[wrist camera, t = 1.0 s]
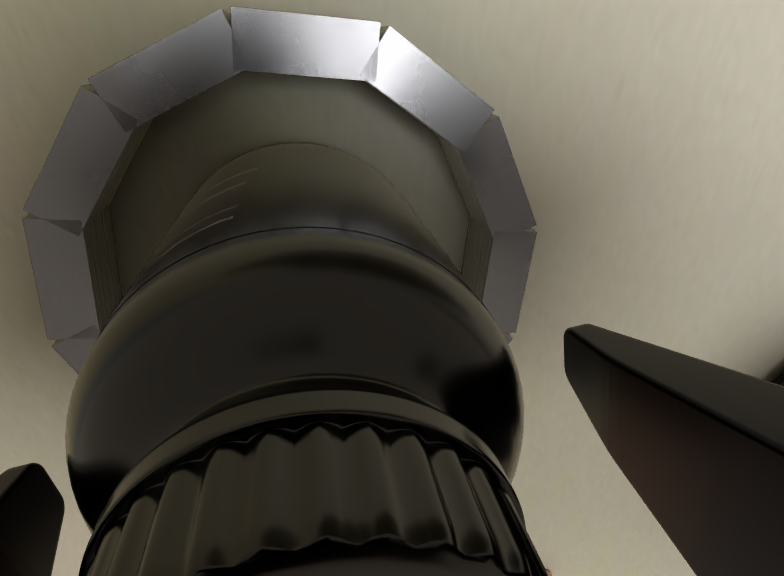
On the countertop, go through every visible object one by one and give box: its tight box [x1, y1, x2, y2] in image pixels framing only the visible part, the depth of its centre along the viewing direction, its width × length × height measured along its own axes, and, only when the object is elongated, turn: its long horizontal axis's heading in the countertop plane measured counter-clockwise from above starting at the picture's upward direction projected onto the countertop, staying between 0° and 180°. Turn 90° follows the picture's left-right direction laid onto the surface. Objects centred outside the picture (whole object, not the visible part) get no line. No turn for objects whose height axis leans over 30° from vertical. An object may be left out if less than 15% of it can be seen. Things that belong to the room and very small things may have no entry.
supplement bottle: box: [65, 143, 548, 576], centre depth 10 cm, size 7×7×12 cm
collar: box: [22, 6, 537, 374], centre depth 14 cm, size 12×12×2 cm
